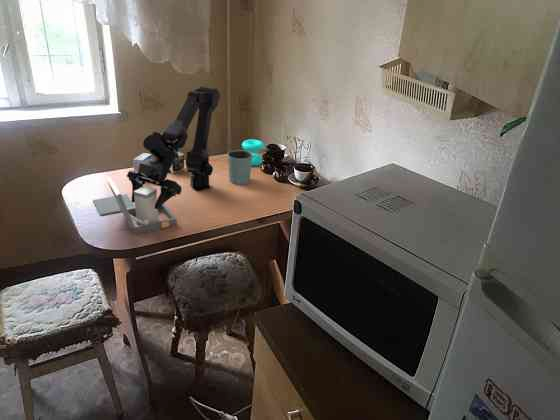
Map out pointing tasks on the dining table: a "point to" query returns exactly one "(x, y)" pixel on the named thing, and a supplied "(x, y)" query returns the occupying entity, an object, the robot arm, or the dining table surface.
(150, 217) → the block
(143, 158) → the medicine box
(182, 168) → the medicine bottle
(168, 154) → the robot arm
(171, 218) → the equipment case
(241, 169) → the grey teal cup
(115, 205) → the slate mat
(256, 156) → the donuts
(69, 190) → the dining table surface
